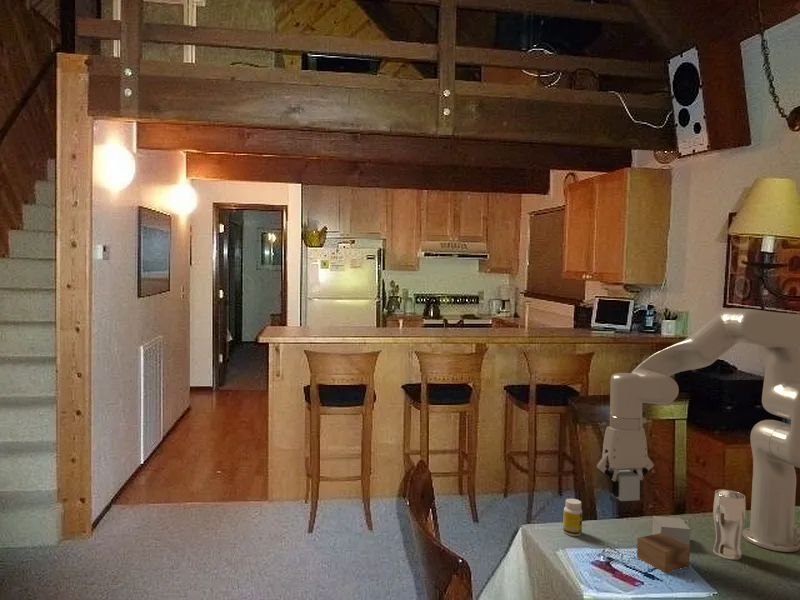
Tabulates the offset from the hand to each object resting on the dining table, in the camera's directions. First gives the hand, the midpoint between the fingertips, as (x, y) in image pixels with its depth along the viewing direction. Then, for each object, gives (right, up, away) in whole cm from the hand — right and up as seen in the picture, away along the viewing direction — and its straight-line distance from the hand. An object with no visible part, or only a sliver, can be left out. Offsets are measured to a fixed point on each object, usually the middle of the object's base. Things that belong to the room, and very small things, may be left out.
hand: (624, 493), depth 145 cm
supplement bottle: (-11, -13, +7) cm, 18 cm away
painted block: (0, -1, 0) cm, 1 cm away
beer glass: (+24, -14, -2) cm, 28 cm away
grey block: (+13, -14, +4) cm, 20 cm away
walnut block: (+6, -14, -8) cm, 17 cm away
